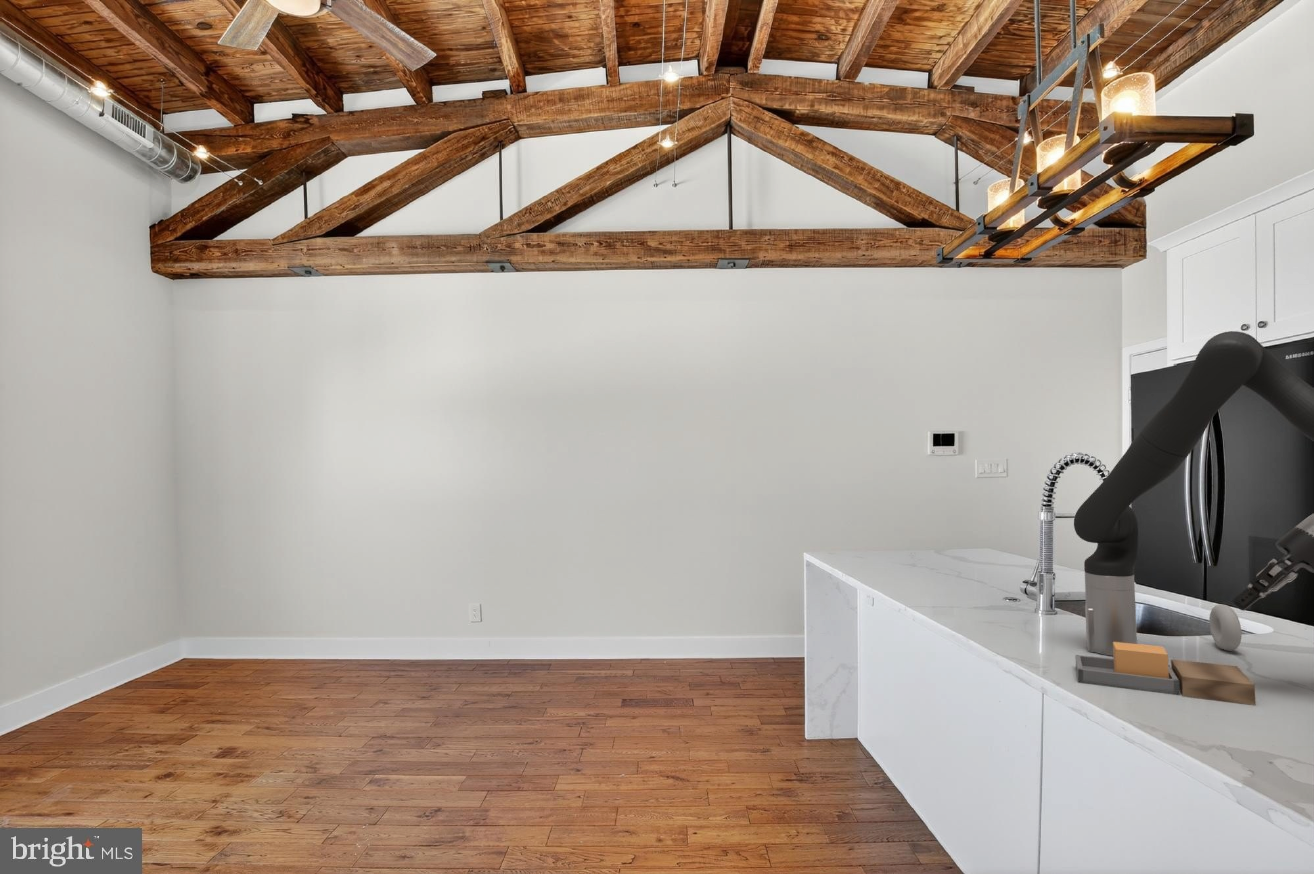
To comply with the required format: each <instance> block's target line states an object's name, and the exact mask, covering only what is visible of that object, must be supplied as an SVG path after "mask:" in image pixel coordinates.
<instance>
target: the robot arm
mask: <svg viewBox="0 0 1314 874" xmlns="http://www.w3.org/2000/svg"><path fill="white" fill-rule="evenodd" d="M1242 386H1244V387H1245V388H1247V389H1249V390H1251V391H1252V392H1254V393H1255V394H1256V395H1258V396H1260V397H1261V398H1262V399H1264V400H1265V401H1266V402H1268V403H1269V404H1270V405H1271V406H1272V407H1274V409H1276V410H1277V411H1278V412H1279V413H1280V414H1281V415H1282V416H1283V417H1284V418H1285V419H1286V420H1287V421H1288V422H1289V424H1291V425H1292V426H1293V427H1294V428H1295V429H1296V430H1297V431H1299V432H1300V433H1301V434H1303V436H1305V437H1307V438H1308V439H1309V440H1311V441H1312V442H1314V386H1311V385H1310V384H1309V383H1307V382H1306V381H1304V380H1303V379H1302V378H1301V377H1299V376H1298V375H1297V374H1296V373H1294V372H1293V371H1291V369H1289V368H1287V367H1286V366H1285V365H1284V364H1283V363H1282V362H1280V361H1279V359H1277V358H1276V357H1275V356H1274V355H1273V354H1272V353H1271V352H1270V351H1269V350H1268V349H1266V347H1265V346H1263V344H1261V342H1260V341H1258V339H1256V338H1255V337H1254V336H1252V335H1250V334H1249V333H1246V332H1242V331H1236V330H1235V331H1234V330H1229V331H1223V332H1220V333H1218V334H1216V335H1213V336H1212V337H1211V338H1209V339H1208V340H1207V341H1206V342H1205V344H1204V345H1203V346H1202V347H1201V348H1200V349H1199V351H1198V354H1197V355H1196V357H1195V359H1194V362H1193V364H1192V365H1191V367H1190V370H1189V371H1188V373H1187V374H1186V376H1185V378H1184V379H1183V381H1182V382H1181V384H1180V386H1179V387H1178V389H1177V390H1176V392H1175V394H1174V395H1173V396H1172V397H1171V398H1170V399H1169V400H1168V401H1167V402H1166V403H1165V404H1164V405H1163V406H1162V407H1160V409H1159V410H1158V411H1157V412H1156V413H1155V414H1154V415H1153V416H1152V417H1151V418H1150V419H1149V420H1148V421H1147V423H1146V424H1145V425H1144V426H1143V427H1142V428H1141V430H1140V431H1139V432H1138V434H1137V435H1136V437H1135V438H1134V439H1133V441H1132V442H1131V444H1130V445H1129V447H1128V448H1127V449H1126V451H1125V453H1124V454H1122V457H1121V458H1120V459H1119V460H1118V462H1117V463H1116V464H1115V466H1113V468H1112V470H1111V471H1110V472H1109V474H1108V475H1107V476H1106V478H1105V479H1104V480H1103V481H1102V483H1100V485H1099V486H1098V487H1097V488H1096V489H1095V490H1094V491H1093V492H1092V493H1091V494H1089V496H1088V497H1087V498H1086V499H1085V500H1084V501H1083V503H1081V505H1080V506H1079V508H1078V509H1077V511H1076V512H1075V515H1074V519H1073V528H1074V532H1075V533H1076V535H1077V536H1078V537H1079V538H1080V539H1081V540H1083V541H1085V542H1087V543H1091V544H1097V545H1096V550H1094V552H1093V553H1092V554H1091V555H1090V556H1088V557H1087V558H1085V559H1084V562H1083V563H1084V567H1083V568H1084V589H1085V590H1084V591H1085V604H1084V606H1085V607H1084V610H1085V612H1084V613H1085V633H1086V634H1085V635H1086V647H1087V652H1091V653H1092V652H1093V653H1098V654H1101V655H1106V656H1113V642H1121V643H1131V644H1138V640H1137V638H1138V637H1137V615H1136V613H1137V612H1136V592H1135V591H1136V589H1135V588H1136V587H1135V585H1136V584H1135V567H1136V564H1137V562H1138V558H1139V523H1138V522H1139V521H1138V517H1137V515H1136V513H1135V511H1134V510H1133V508H1132V507H1131V505H1132V504H1133V503H1134V501H1136V500H1137V499H1138V498H1140V497H1141V496H1142V495H1144V494H1146V493H1147V492H1149V491H1150V490H1151V489H1153V488H1155V487H1156V486H1158V485H1159V484H1161V483H1162V482H1163V481H1165V480H1166V479H1167V478H1169V477H1170V476H1171V475H1173V474H1174V473H1175V472H1176V470H1178V468H1179V467H1180V466H1181V465H1182V464H1183V462H1185V460H1186V459H1187V458H1188V456H1189V455H1190V454H1191V452H1192V451H1193V450H1194V449H1195V447H1196V446H1197V444H1198V442H1199V441H1200V439H1201V438H1202V436H1203V435H1204V433H1205V431H1206V430H1207V428H1208V426H1209V424H1210V422H1211V421H1212V419H1213V418H1214V416H1215V415H1216V414H1217V412H1218V411H1219V410H1220V409H1221V408H1222V407H1223V405H1224V404H1225V403H1227V402H1228V401H1229V399H1230V398H1231V397H1232V396H1234V394H1235V393H1236V392H1238V390H1239V389H1240V388H1242ZM1275 547H1276V549H1278V551H1280V552H1281V553H1282V554H1283V556H1282V557H1281V558H1279V559H1278V558H1276V557H1273V558H1272V559H1271V560H1270V561H1268V563H1267V565H1266V566H1265V567H1264V568H1262V569H1261V571H1259V572H1258V573H1257V574H1256V577H1254V579H1252V580H1250V583H1249V584H1248V585H1247V588H1246V589H1244V590H1243V591H1242V592H1241V593H1239V594H1238V595H1237V596H1236V597H1234V598H1233V599H1232V600H1231V603H1232V605H1234V607H1236V608H1237V609H1239V610H1240V611H1243V612H1244V611H1246V610H1247V609H1248V608H1250V607H1251V606H1252V605H1253V604H1254V603H1256V602H1257V601H1259V600H1260V599H1263V598H1266V597H1268V596H1269V595H1270V594H1271V593H1273V592H1277V591H1279V589H1281V588H1282V587H1284V586H1285V585H1286V584H1287V583H1291V582H1293V581H1294V580H1295V579H1296V578H1297V577H1298V576H1299V573H1298V572H1297V571H1299V569H1302V568H1303V569H1306V570H1307V571H1309V572H1311V573H1313V574H1314V513H1312V514H1311V515H1309V516H1308V517H1306V518H1305V519H1303V520H1302V521H1301V522H1300V523H1298V524H1297V525H1296V526H1294V527H1293V528H1292V529H1291V530H1290V531H1289V532H1287V533H1286V534H1284V536H1282V537H1281V538H1280V539H1279V540H1277V541H1276V542H1275Z"/></svg>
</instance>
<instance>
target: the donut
mask: <svg viewBox="0 0 1314 874" xmlns="http://www.w3.org/2000/svg"><path fill="white" fill-rule="evenodd" d="M1209 629H1210V633H1211V637H1212V639H1213V641H1214V642H1215V645H1217V646H1218V647H1219V648H1220V649H1222V650H1223V649H1224V651H1227V652H1228V651H1229V652H1232V651H1235V650H1236V649H1238V648H1239V647H1240V645H1241V642H1242V627H1241V622H1240V619H1239V616H1238V614H1237V613H1236V612H1235V610H1234V609H1233V608H1232V607H1231V606H1230V605H1227V604H1222V603H1220V604H1219V603H1218V604H1216V605H1214V606H1213V607H1212V608H1211V610H1210V614H1209Z"/></svg>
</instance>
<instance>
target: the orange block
mask: <svg viewBox="0 0 1314 874" xmlns="http://www.w3.org/2000/svg"><path fill="white" fill-rule="evenodd" d="M1113 659H1114V672H1115V673H1124V674H1132V675H1141V676H1150V677H1158V678H1167V679H1169V668H1168V665H1169V654H1168V653H1167V650H1166V649H1165V647H1163V646H1161V645H1150V644H1142V643H1141V644H1140V643H1137V644H1131V643H1121V642H1113Z"/></svg>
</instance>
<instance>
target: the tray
mask: <svg viewBox="0 0 1314 874" xmlns="http://www.w3.org/2000/svg"><path fill="white" fill-rule="evenodd" d="M1074 658H1075V669H1076V675H1077V681H1078V684H1079V683H1080V684H1090V685H1095V686H1104V687H1111V688H1112V687H1113V688H1119V689H1127V690H1128V689H1129V690H1137V691H1145V692H1152V693H1160V694H1166V695H1167V694H1168V695H1169V694H1171V695H1175V694H1176V695H1177V696H1180V695H1181V692H1180V687H1179V680H1178V678H1177V677H1176V675H1175V673H1174V672H1173V670H1172V669H1171V664H1168V668H1169V679H1167V678H1158V677H1150V676H1141V675H1132V674H1124V673H1115V672H1114V658H1108V657H1103V656H1102V657H1100V656H1099V657H1098V656H1090V655H1089V656H1088V655H1080V654H1075V657H1074Z"/></svg>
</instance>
